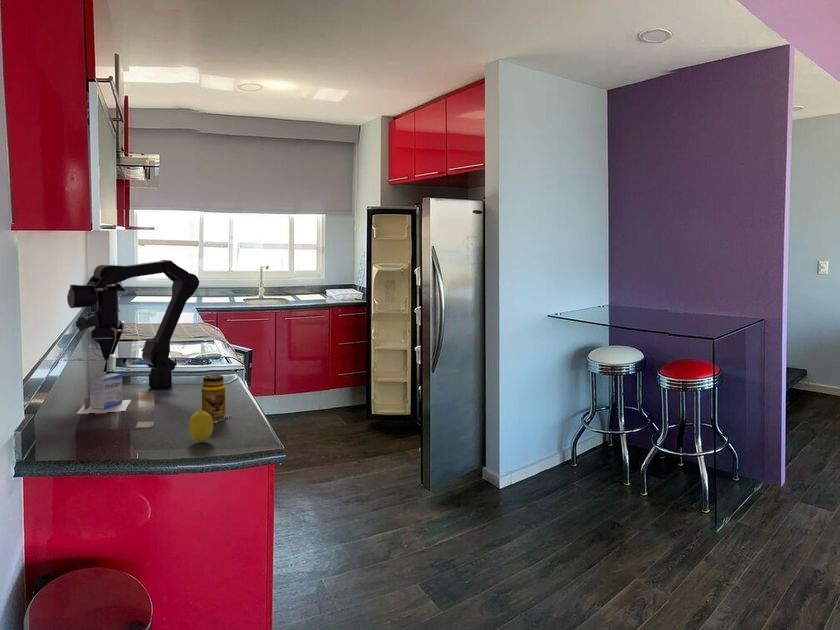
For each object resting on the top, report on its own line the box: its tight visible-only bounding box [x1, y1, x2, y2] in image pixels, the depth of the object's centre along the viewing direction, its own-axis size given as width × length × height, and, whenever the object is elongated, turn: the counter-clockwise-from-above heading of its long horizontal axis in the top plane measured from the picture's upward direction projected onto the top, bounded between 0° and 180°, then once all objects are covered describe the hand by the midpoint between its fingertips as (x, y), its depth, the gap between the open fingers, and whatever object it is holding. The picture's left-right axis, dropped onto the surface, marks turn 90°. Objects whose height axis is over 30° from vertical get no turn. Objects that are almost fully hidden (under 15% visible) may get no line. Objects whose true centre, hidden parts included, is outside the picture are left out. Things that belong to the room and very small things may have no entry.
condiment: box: [201, 374, 230, 422], centre depth 164 cm, size 7×8×12 cm
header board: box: [76, 394, 132, 415], centre depth 172 cm, size 12×12×3 cm
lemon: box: [188, 409, 214, 443], centre depth 145 cm, size 6×6×8 cm
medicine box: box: [89, 373, 123, 409], centre depth 172 cm, size 8×4×9 cm, turn 169°
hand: (109, 357), depth 185 cm, fingers open, 9 cm apart
